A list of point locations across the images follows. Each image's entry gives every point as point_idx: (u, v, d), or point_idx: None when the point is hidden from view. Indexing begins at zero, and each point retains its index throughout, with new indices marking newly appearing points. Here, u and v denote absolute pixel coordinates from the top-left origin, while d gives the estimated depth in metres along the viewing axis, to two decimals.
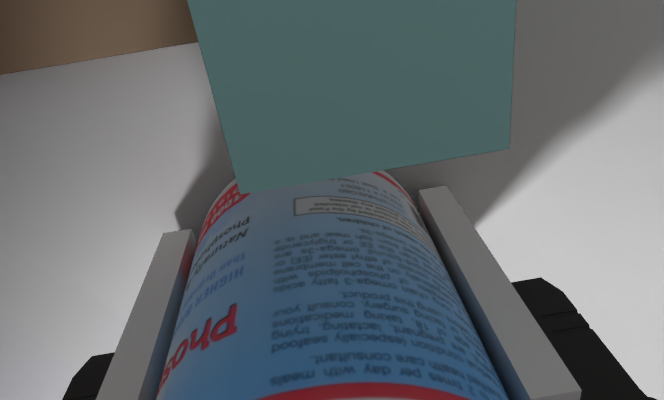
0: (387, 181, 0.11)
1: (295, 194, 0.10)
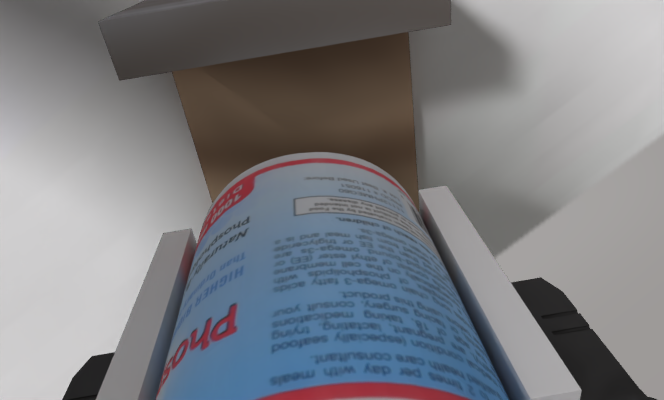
0: (387, 181, 0.11)
1: (296, 194, 0.10)
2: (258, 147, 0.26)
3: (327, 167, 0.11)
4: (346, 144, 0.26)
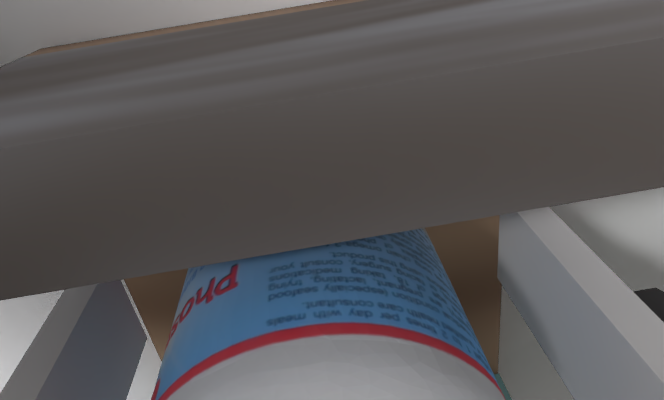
0: None
1: None
2: None
3: None
4: None
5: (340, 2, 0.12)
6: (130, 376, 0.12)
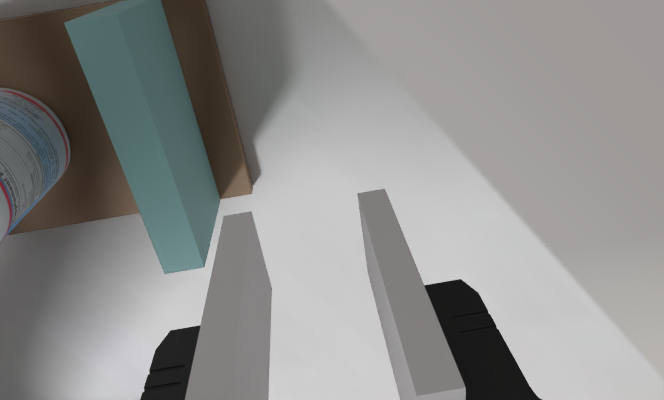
0: None
1: None
2: (75, 172, 0.28)
3: None
4: (52, 92, 0.26)
5: None
6: (269, 318, 0.13)
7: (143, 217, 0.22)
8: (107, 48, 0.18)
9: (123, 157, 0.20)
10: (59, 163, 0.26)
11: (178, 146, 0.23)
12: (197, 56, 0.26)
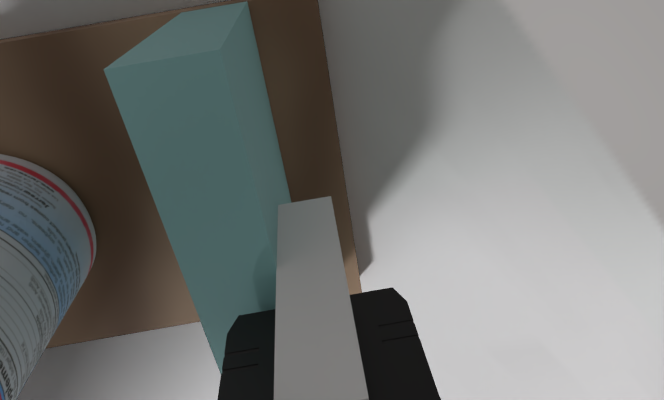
0: None
1: None
2: (103, 271, 0.18)
3: None
4: (69, 156, 0.16)
5: None
6: None
7: None
8: (194, 119, 0.09)
9: (207, 312, 0.11)
10: (81, 272, 0.16)
11: None
12: (302, 99, 0.16)
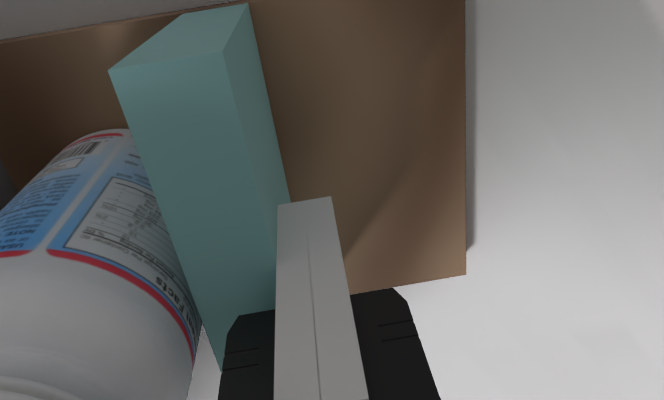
0: None
1: None
2: None
3: None
4: None
5: None
6: None
7: None
8: (196, 119, 0.09)
9: (208, 310, 0.11)
10: None
11: None
12: (436, 77, 0.16)
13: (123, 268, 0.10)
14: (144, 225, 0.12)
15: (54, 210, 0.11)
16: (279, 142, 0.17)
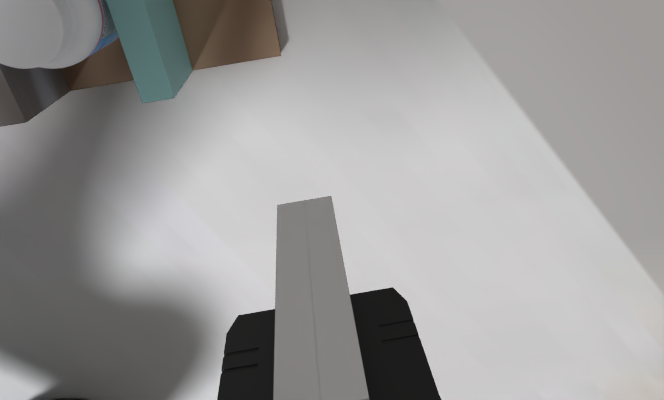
0: None
1: None
2: None
3: None
4: None
5: None
6: None
7: (124, 48, 0.28)
8: None
9: None
10: None
11: None
12: None
13: None
14: None
15: None
16: None
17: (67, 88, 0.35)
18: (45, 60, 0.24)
